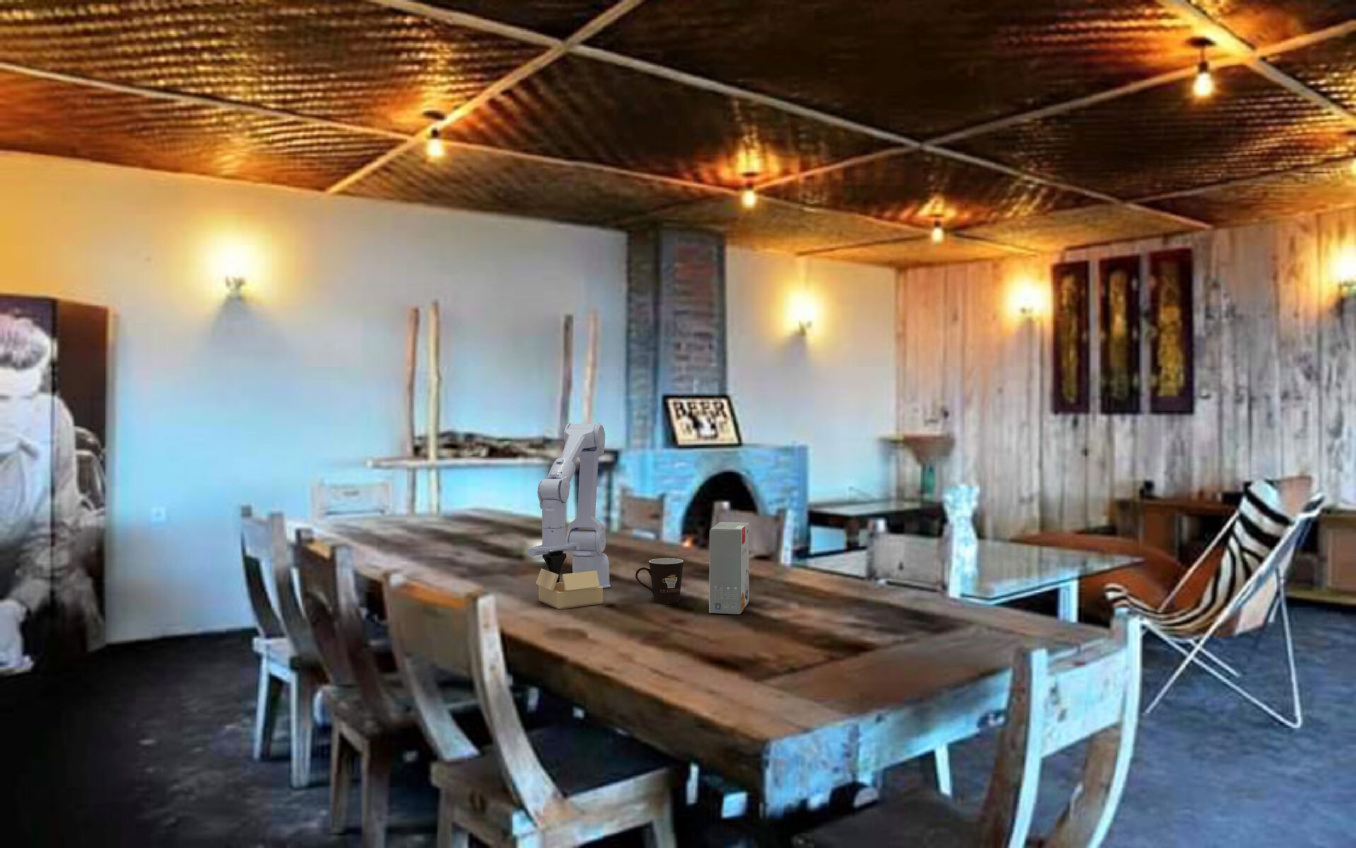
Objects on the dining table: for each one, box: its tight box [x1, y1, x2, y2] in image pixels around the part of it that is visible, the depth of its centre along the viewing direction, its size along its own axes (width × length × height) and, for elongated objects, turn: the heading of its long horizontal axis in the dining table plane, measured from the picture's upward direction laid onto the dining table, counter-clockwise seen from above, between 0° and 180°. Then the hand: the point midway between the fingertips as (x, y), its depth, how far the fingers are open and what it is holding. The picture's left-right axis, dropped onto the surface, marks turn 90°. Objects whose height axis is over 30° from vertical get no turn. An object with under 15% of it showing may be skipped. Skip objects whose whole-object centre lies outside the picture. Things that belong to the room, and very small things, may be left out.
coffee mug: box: [634, 557, 684, 605], centre depth 235 cm, size 12×9×10 cm
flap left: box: [561, 571, 600, 591], centre depth 229 cm, size 9×4×1 cm
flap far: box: [535, 568, 559, 590], centre depth 231 cm, size 4×9×1 cm
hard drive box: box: [708, 521, 750, 615], centre depth 227 cm, size 16×8×20 cm, turn 168°
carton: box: [538, 581, 604, 610], centre depth 234 cm, size 12×12×4 cm
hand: (554, 582), depth 232 cm, fingers closed, pressing on flap far
